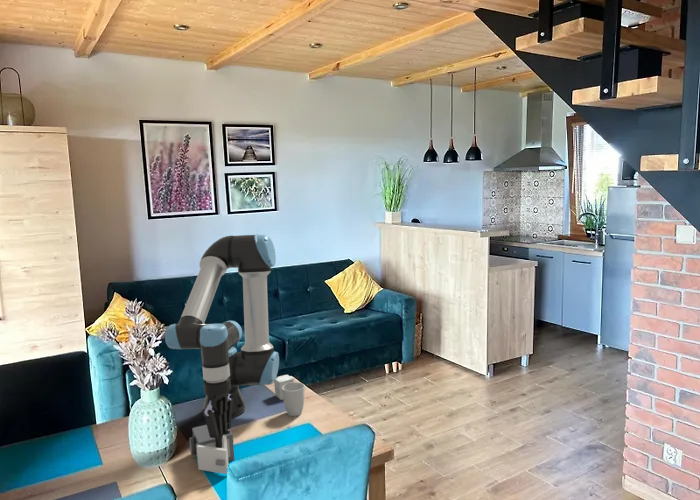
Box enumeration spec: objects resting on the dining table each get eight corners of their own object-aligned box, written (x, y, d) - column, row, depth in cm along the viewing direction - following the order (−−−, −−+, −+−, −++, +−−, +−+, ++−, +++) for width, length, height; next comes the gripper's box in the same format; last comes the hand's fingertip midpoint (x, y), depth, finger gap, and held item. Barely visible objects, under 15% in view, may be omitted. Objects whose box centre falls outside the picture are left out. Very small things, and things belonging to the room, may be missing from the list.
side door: (198, 466, 152) (196, 443, 151) (229, 472, 148) (228, 448, 147) (193, 471, 150) (191, 447, 149) (225, 476, 146) (223, 452, 145)
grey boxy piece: (189, 453, 161) (187, 426, 160) (226, 444, 166) (224, 418, 165) (195, 470, 151) (193, 441, 150) (234, 459, 156) (232, 432, 155)
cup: (309, 409, 190) (308, 383, 188) (300, 419, 182) (298, 391, 181) (289, 407, 192) (287, 381, 191) (279, 416, 185) (277, 389, 184)
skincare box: (295, 396, 202) (294, 378, 201) (280, 400, 199) (279, 382, 198) (288, 391, 207) (287, 374, 207) (274, 395, 204) (273, 377, 204)
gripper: (218, 370, 156) (223, 444, 159) (191, 385, 144) (198, 466, 147) (240, 371, 154) (245, 447, 156) (215, 387, 142) (221, 469, 144)
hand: (222, 456), depth 151 cm, fingers closed
